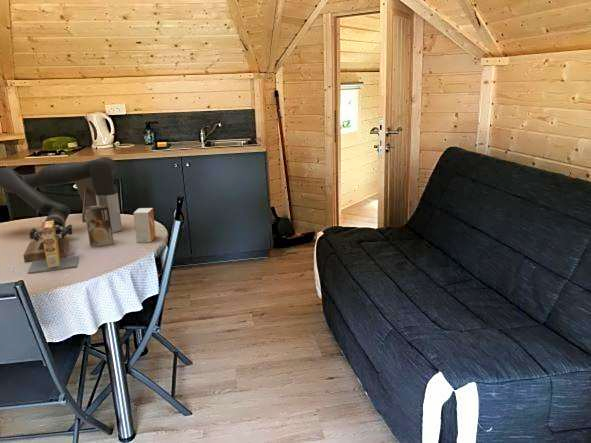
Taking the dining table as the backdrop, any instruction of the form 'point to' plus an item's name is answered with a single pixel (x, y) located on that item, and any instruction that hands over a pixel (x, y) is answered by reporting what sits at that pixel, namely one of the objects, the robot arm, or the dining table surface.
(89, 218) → the coffee box
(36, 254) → the pocket board
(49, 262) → the candy box
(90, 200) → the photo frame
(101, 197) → the robot arm
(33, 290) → the dining table surface
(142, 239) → the small box
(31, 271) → the slate mat
